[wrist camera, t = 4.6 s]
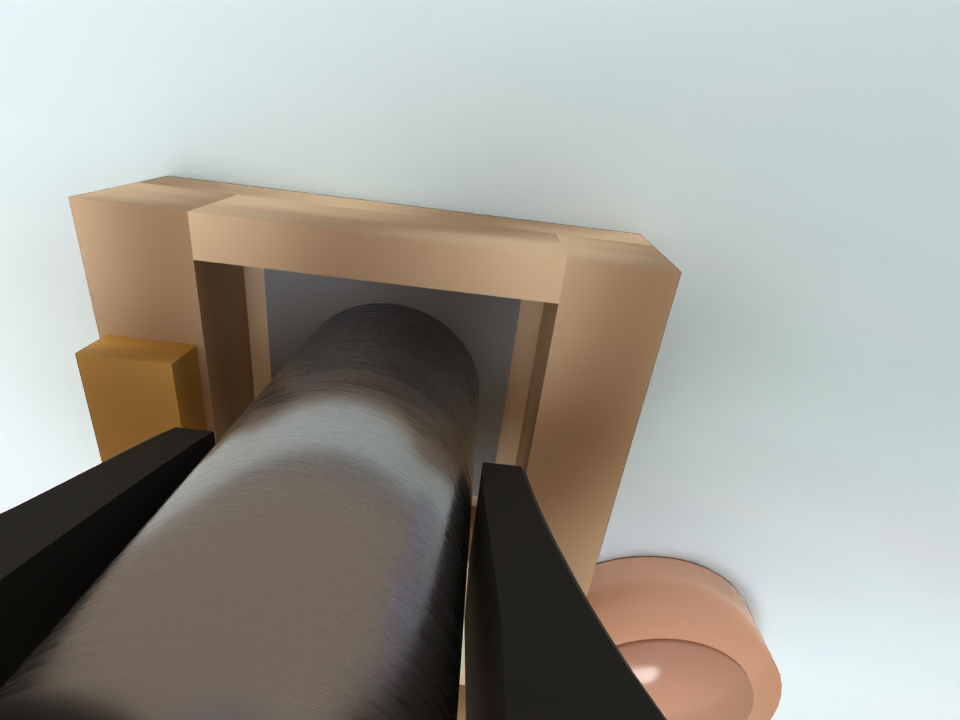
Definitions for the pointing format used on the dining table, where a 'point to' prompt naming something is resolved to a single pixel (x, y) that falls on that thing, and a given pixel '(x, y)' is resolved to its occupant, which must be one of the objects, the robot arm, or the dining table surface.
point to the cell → (294, 552)
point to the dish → (686, 639)
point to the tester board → (366, 280)
